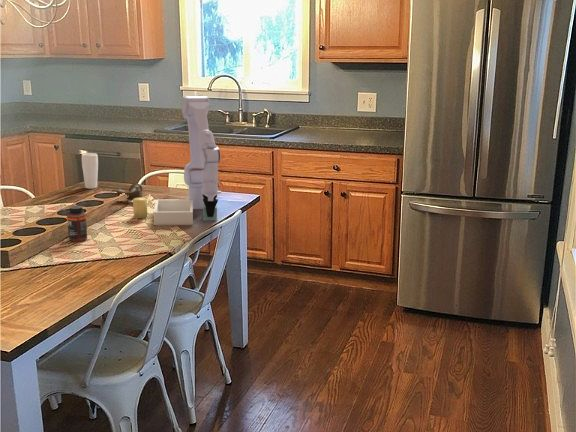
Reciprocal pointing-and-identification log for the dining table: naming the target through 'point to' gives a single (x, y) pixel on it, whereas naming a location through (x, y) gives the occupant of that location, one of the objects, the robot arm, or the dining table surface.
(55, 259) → the dining table surface
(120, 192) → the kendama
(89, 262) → the dining table surface
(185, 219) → the grey tote
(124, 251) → the dining table surface
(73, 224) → the supplement bottle
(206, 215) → the teal cube
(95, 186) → the drinking glass
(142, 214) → the mustard cylinder
